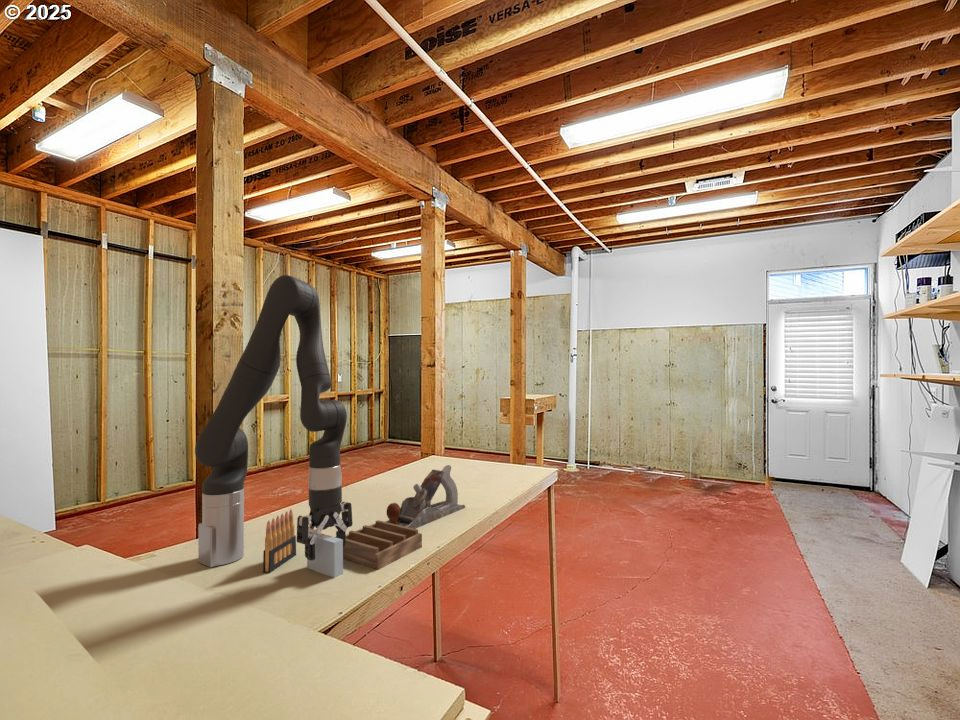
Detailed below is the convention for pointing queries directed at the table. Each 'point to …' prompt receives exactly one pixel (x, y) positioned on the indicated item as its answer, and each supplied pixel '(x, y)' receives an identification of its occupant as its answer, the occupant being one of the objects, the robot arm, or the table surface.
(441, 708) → the table surface
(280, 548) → the ammunition clip
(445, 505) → the hand plane
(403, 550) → the rack
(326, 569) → the tile
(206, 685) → the table surface
